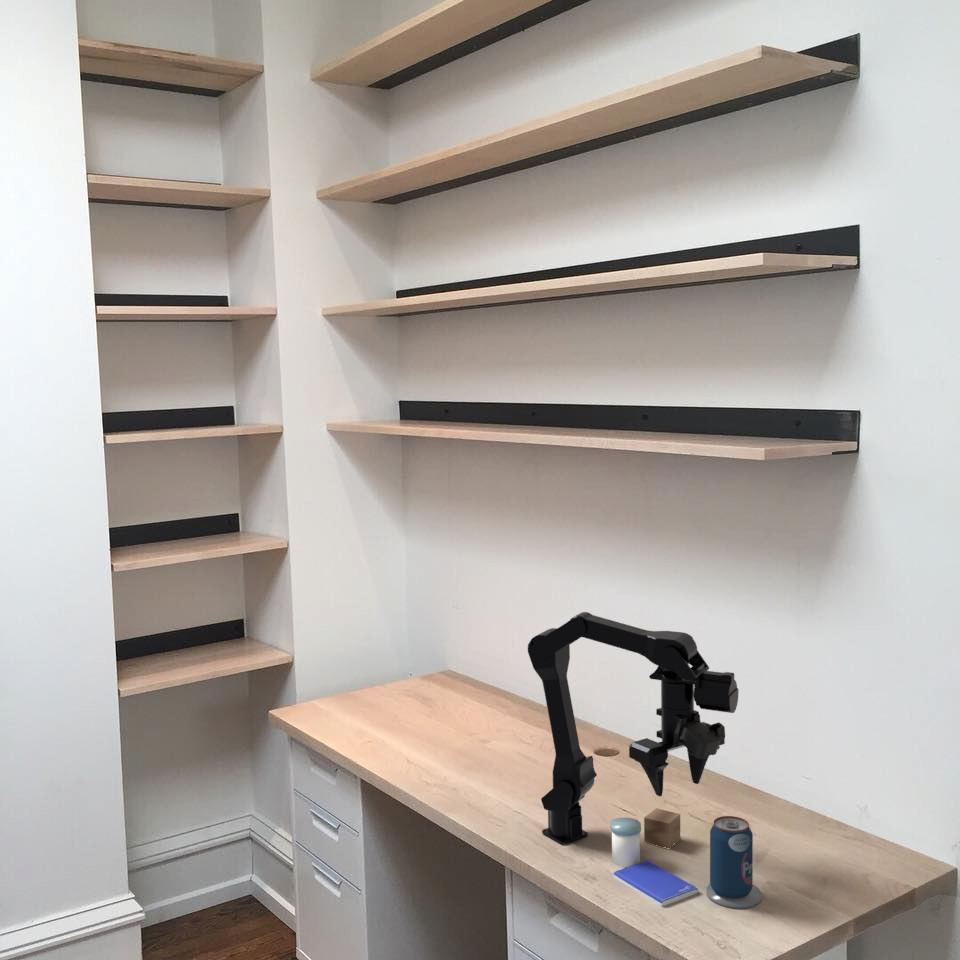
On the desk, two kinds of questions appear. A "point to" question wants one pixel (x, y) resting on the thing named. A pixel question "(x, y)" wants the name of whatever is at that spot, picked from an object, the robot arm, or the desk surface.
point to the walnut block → (662, 828)
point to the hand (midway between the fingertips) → (677, 789)
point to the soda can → (731, 858)
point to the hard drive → (655, 883)
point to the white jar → (625, 841)
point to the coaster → (747, 902)
